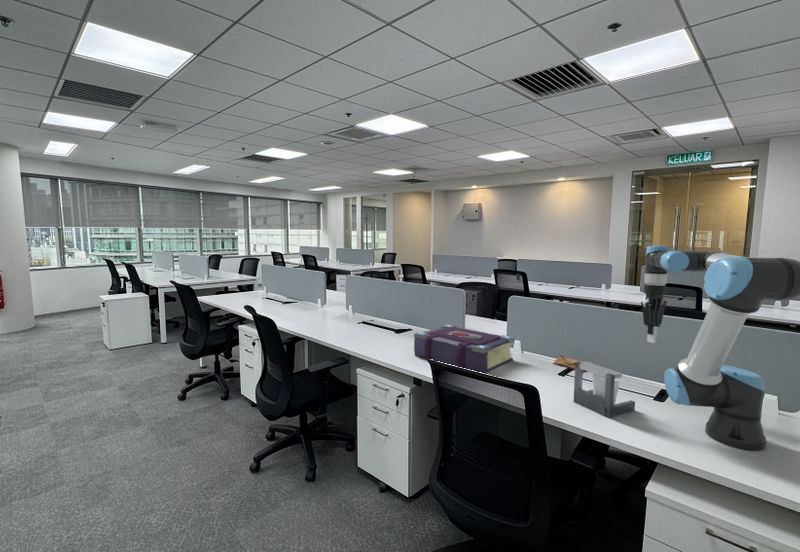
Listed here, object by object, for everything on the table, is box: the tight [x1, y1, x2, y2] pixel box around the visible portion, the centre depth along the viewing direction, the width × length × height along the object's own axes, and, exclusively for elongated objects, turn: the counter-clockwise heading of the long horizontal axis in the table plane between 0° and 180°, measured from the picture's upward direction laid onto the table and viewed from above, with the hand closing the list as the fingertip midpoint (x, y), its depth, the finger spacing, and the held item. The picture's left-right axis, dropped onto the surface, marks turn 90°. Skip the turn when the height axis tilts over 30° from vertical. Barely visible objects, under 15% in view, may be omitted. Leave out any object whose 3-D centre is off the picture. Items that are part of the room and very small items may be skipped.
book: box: [413, 324, 516, 374], centre depth 211 cm, size 33×45×14 cm
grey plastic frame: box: [572, 361, 636, 419], centre depth 150 cm, size 15×16×16 cm
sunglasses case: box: [552, 355, 588, 374], centre depth 198 cm, size 18×7×7 cm
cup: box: [592, 373, 620, 405], centre depth 149 cm, size 9×9×12 cm
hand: (651, 342), depth 156 cm, fingers closed
